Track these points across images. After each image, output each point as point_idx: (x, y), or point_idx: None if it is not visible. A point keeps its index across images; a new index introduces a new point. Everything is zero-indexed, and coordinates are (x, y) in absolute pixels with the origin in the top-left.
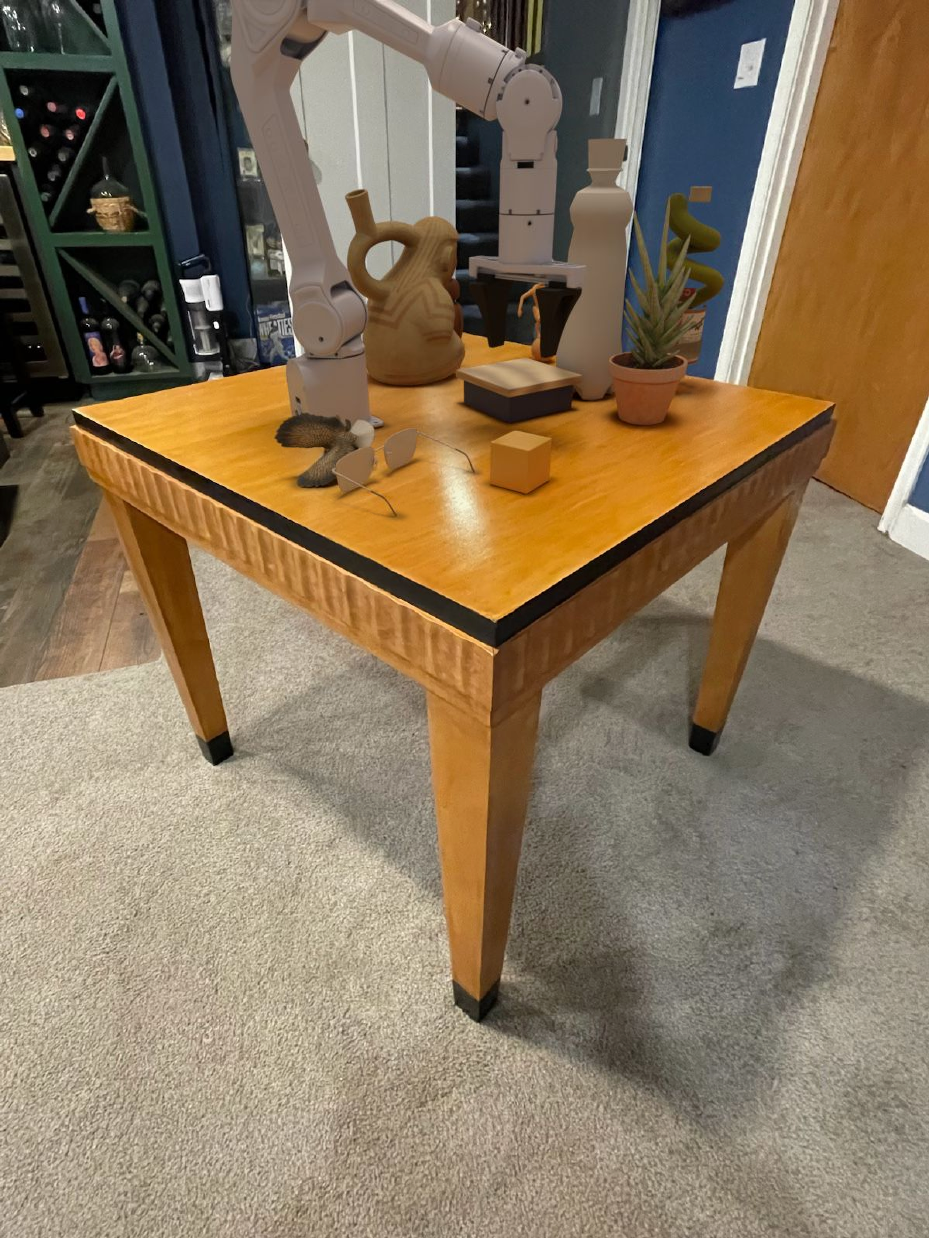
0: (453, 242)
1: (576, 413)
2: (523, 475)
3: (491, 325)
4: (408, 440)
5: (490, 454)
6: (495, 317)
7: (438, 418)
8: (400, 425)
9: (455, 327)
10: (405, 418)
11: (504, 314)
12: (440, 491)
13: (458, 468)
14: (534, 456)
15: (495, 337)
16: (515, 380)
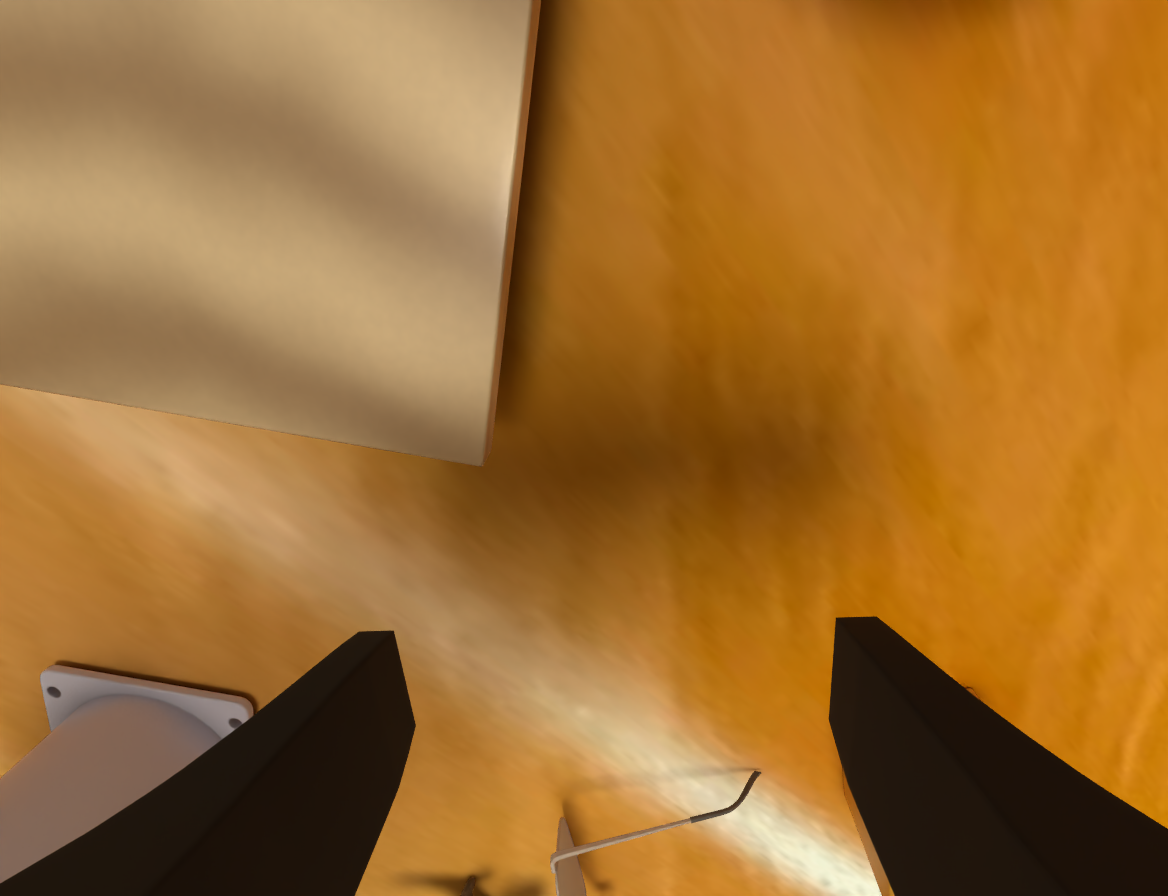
0: None
1: (604, 6)
2: None
3: (348, 870)
4: (566, 887)
5: (875, 877)
6: (310, 892)
7: (271, 526)
8: (266, 654)
9: None
10: (206, 600)
11: (265, 799)
12: (771, 877)
13: (695, 770)
14: None
15: (387, 759)
16: (366, 313)
